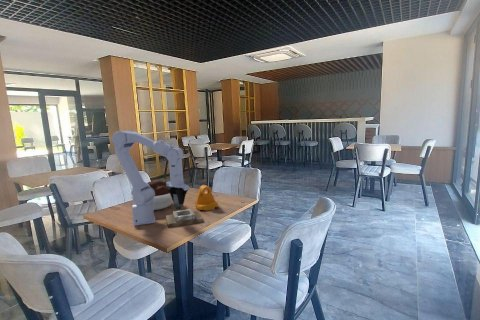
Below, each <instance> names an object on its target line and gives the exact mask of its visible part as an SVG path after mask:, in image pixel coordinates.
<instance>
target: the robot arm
mask: <svg viewBox="0 0 480 320" xmlns="http://www.w3.org/2000/svg"><path fill="white" fill-rule="evenodd" d="M111 141H112V143H113V146H114V154H115V156H116V157H117V160H118V161H119V163H120V165H121V167H122V170H124V173H125V174H126V177H127V178H128V180H129V182H130V184H131V186H132V188H131V192H130V194H131V193H132V196H133V200H132V201H133V203H135V204H132V207H131V208H132V209H131V211H132V222H133V226H134V227H135V226H141V225H149V224H154V223H156V216H155V210H153V198H154V197H155V192H154V190H153V189H152V188H151V187H150V186H149V184H148V182H146V181H145V180H144V179H143V176H142V175H141V173H140V171H139V169H138V167H137V166H136V163H135V161H134V160H133V157H132V156H131V153H130V150H131V148H132V147H133V146H134V144H135V143H137V144H140V145H143V146H144V147H145V146H146V147H148V148H151V149H152V151H153V152H154V153H155V154H158V155H160V156H161V157H164V158H166V160H167V161H168V165H169V167H168V168H169V178H170V181H165V182H166V186H169V187H170V188H168V189H167V190H168V191H169V193H170V195H171V197H172V200H173V202H172V204H174V199H173V193H176V194H177V196H178V202H179V205H181V204H183V205H184V204H185V198H186V195H187V194H188V193H187V192H188V191H189V190H190V186H189V184H186V183H185V182H184V171H183V170H184V169H183V159H182V158H183V157H184V150H183V149H182V148H181V147H180V146H174V144H168V143H166V142H165V141H164V140H163V139H161V140H156V141H155V140H153V139H151V138H149V137H147V136H145V135H143V134H141V133H139V132H137V131H134V130H133V129H132V130H131V129H130V130H117V131H115V132H114V133H113V135H112V138H111Z"/></svg>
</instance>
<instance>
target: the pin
mask: <svg viewBox="0 0 480 320" xmlns="http://www.w3.org/2000/svg"><path fill="white" fill-rule="evenodd" d="M173 199H174V203H173V209H174V210H175V211H180V210H183V209H184V204H181V205H179V202H178V196H177V194H176V193H173Z"/></svg>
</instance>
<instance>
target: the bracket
mask: <svg viewBox="0 0 480 320" xmlns="http://www.w3.org/2000/svg"><path fill="white" fill-rule="evenodd" d="M194 205H195V208H196V209H197V210H198V211H210V210H215V208H218V207H219V202H218V201H216V200H215V198H214V196H213V193H212V188H211V187H209V186H208V185H207V184H202V185H201V186H199V190H198V192H197V196H196V199H195V203H194Z"/></svg>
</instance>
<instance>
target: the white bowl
mask: <svg viewBox="0 0 480 320" xmlns="http://www.w3.org/2000/svg"><path fill="white" fill-rule="evenodd" d="M166 182H167V181H162V180H156V181H154V180H152V181H148V182H147V183H148V184H149V186H150V187H151V188H152V189H153V190H154V192H155V197H154V198H153V210H154V211H157V210H158V211H159V210H162V209H165V208H168V207H170V206H171V205H172V204H173V200H172V197H171V195H170V193H169V191H168V190H167V189H168V188H170V187H169V186H166ZM129 196H130V199H131V200H132V201H133V196H132V193H131V192H130V194H129Z"/></svg>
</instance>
